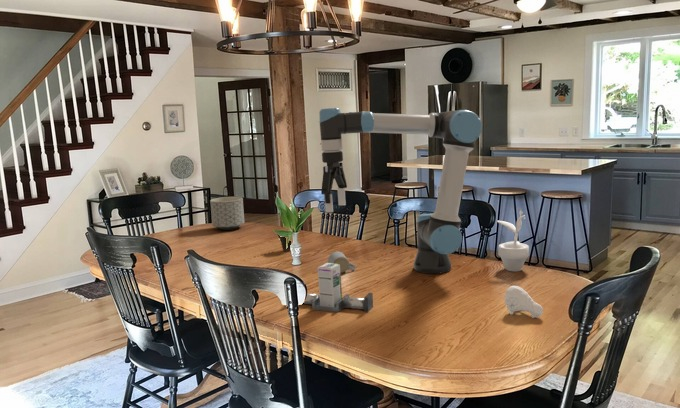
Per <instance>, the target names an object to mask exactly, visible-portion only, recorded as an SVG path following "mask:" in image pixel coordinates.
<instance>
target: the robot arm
mask: <svg viewBox="0 0 680 408" xmlns="http://www.w3.org/2000/svg"><path fill="white" fill-rule="evenodd" d="M318 113H319V131H320V141H321V142H320V144H319V145H321V151H322V153H321V159H322V162H323V163H325V164H326V166H325V165H324V166H323V167H322V171H323V172H322V174H323V175H322V180H321V181H322V182H321V193H320V194H321V195H323V196H324V209H325V210H324V211H325V213H334V205H333V204H334V203H333V201H334V200H333V194H332V189H333V184H334V181H335V183H336V185H337V189H336V190H337V202H338V204H337V205H338V206H346V205H347V202H346V188H347V187H348V185H347V179H346V175H345V171H344V167H343V163H342V162H343V161H344V154H343V151H342V150H343V140H342V139H343V138H342V134H343V135H346V134H361V133H363V134H366V133H371V134H372V133H374V134H375V133H376V134H405V135H427V136H428V137H429V138H438V139H443V140H442V145H443V147H444V148H445V149H444V150H445V151H444V152H445V153H444V157H443V158H444V159H443V165H442V171H441V175H440V176H441V177H440V182H439V188H438V193H437V199H436V204H435V205H436V206H435V210H434V211H433V213H423V214H418V215H417V218H416V226H417V227H416V228H417V229H416V230H417V231H416V235H417V252H416V256H415V259H414V261H413V262H414V263H413V269H414V270H415V271H416V272H418V273H421V274H432V275H434V274H444V273H448V272H450V271H451V270H452V262H451V259H450V256H449V254H452V253H454V252H456V251H457V250H458V249H459V248H460V247H461V244H462V242H463V236H462V235H463V234H462V233H461V230H460V228H461V223H462V220H461V218H460V217H459V209H460V204H461V199H462V195H463V194H462V193H463V188H464V182H465V179H466V178H465V176H466V172H467V166H468V160H469V155H470V153H471V152H472V151H473V150H474V149H475V145H476V141H477V139H479V137H480V136H481V134H482V131H483V124H482V120H481V119H480V117H479V115H478V114H476V113H475V112H473V111H470V110H467V109H458V110H450V111H448V110H447V111H442V112H430V113H429V114H409V113H408V114H406V113H403V114H402V113H379V112H376V113H375V112H373V111H366V110H363V111H353V112H352V111H351V112H341V109H340V108H339V107H332V108H330V107H329V108H321V109H320V110H319V112H318Z"/></svg>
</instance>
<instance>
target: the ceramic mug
mask: <svg viewBox="0 0 680 408" xmlns="http://www.w3.org/2000/svg"><path fill="white" fill-rule="evenodd" d="M327 261H328V262H327V263H336V264H340V274H344V273H346V272H347V271H348V270H350V271H355V269H356V265H354V264H353V263H350V261H349V259H348V258H347V256H345V254H344V253H343V252H342V251H338V250H337V251H334V252H331V253H330V255H329V256H328V260H327Z"/></svg>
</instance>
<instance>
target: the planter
mask: <svg viewBox="0 0 680 408" xmlns="http://www.w3.org/2000/svg"><path fill="white" fill-rule="evenodd" d="M209 202H210V211H211V213H210V215H211V224H212V226H213V227H215V228H217V229H220V230H222V231H232V230H236V229H239V227H241V225H244V224H246V223H245V213H244V212H245V211H244V209H245V208H244V199H243V197H241V196H223V197H221V196H220V197H217V198H212V199H210V200H209Z"/></svg>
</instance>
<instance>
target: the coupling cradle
mask: <svg viewBox="0 0 680 408" xmlns="http://www.w3.org/2000/svg"><path fill="white" fill-rule="evenodd" d="M306 293H307V292H306ZM304 304H305V305H311V306H312V311H313V310H314V311H325V312H333V313H340V311H342V310H343V309H345V308H347V309H355V310H356V309H357V310H364V313H369V312H370V311H371V310H372V309H373V308H374V298H373V292H368V293H367V294H366V295H365V296H364V297H362V298H361V297H352V296H350V294H349V293H346V294H345V295H344V296H342V299H340V300H339V301H338V302H337V303H336V307H325V306H320V295H319V294H318V293H317V294H316V293H307V298H306V301H305V303H304ZM304 304H303V305H304Z"/></svg>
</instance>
